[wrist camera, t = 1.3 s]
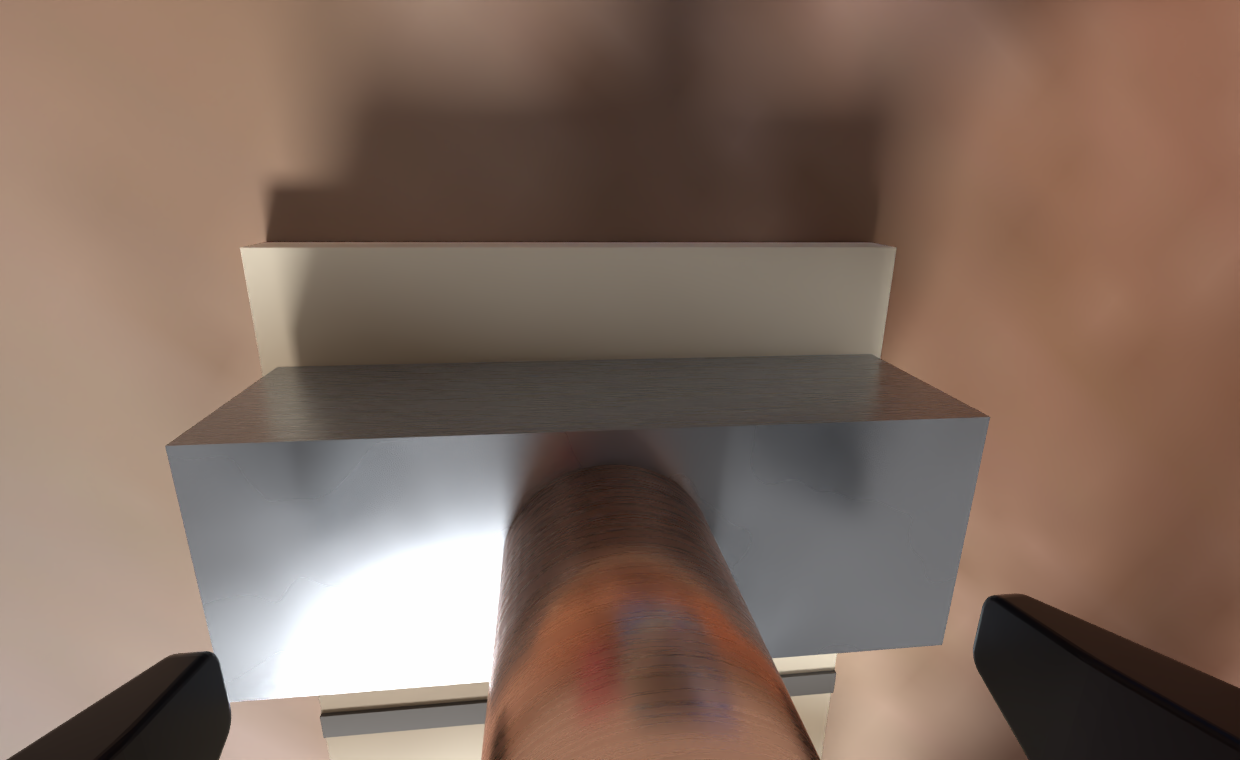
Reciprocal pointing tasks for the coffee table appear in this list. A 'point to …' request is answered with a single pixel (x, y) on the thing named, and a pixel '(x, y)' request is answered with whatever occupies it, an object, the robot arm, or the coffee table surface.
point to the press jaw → (579, 538)
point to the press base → (552, 331)
